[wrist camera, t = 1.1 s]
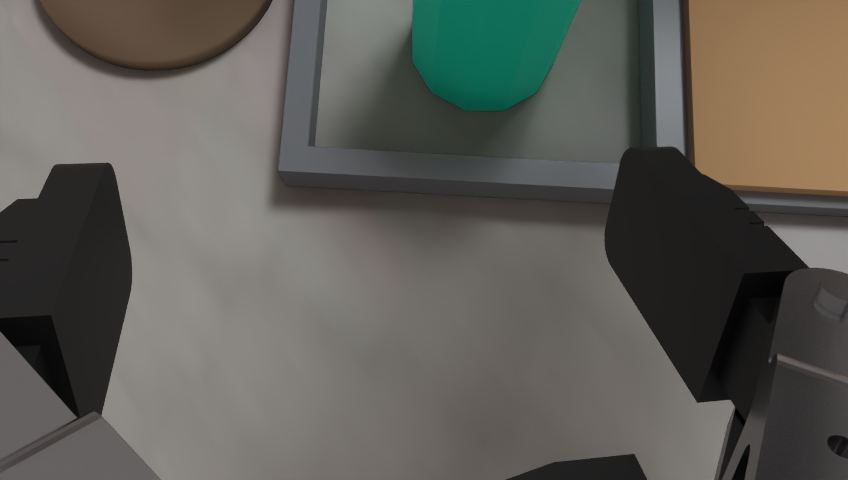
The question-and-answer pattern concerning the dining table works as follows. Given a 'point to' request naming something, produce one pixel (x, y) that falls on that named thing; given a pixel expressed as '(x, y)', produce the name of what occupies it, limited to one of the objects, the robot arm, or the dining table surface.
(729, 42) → the case
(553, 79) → the dining table surface
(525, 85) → the candle
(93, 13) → the coaster
